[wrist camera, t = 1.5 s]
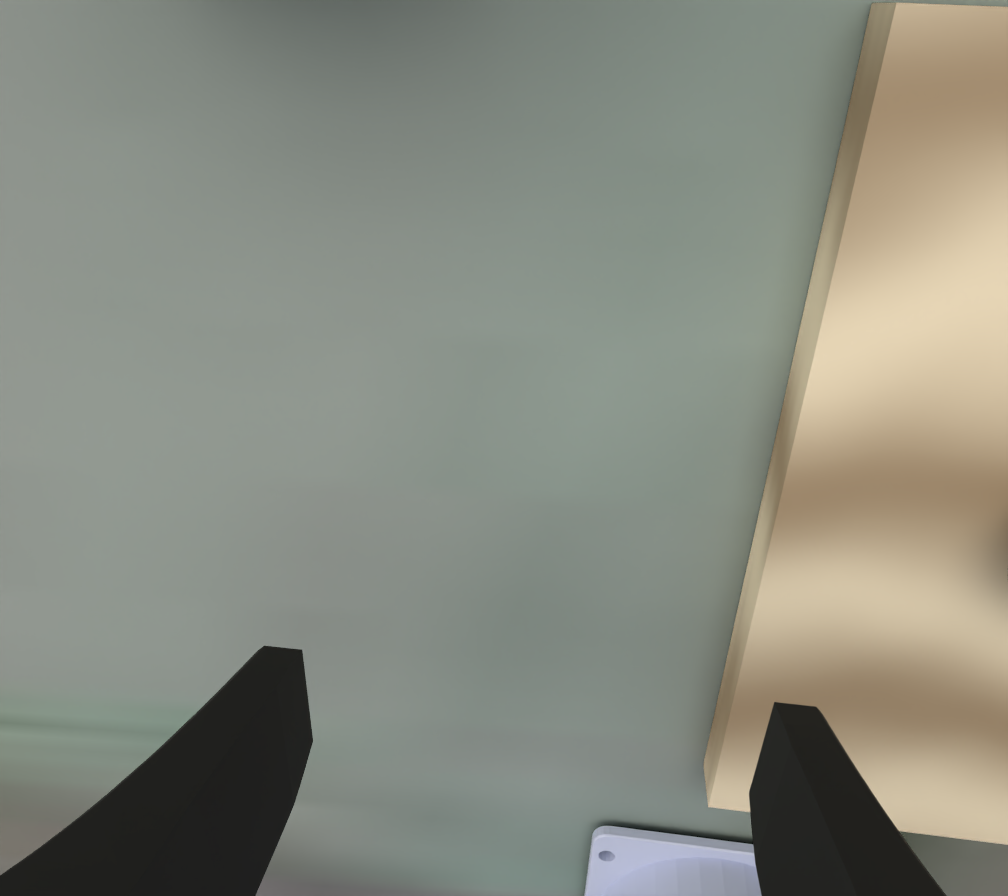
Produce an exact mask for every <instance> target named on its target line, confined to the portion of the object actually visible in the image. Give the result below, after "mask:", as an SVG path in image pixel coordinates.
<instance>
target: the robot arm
mask: <svg viewBox="0 0 1008 896" xmlns="http://www.w3.org/2000/svg"><path fill="white" fill-rule="evenodd" d="M312 743H313V738H312V729H311V721H310V712H309V704H308V696H307V687H306V679H305V670H304V662H303V654H302V650H298V649H289V648H280V647H271V646H263V647H262V648H261V649H260V650H258V651H257V652H256V653H255V654H254V655H253V656H252V657H251V658H250V659H249V660H248V661H247V662H246V663H245V664H244V665H243V667H242V668H241V669H240V670H239V671H238V672H237V673H236V674H235V675H234V676H233V677H232V678H231V679H230V680H229V681H228V682H227V683H226V684H225V685H224V686H223V687H222V688H221V689H220V690H219V691H218V692H217V693H216V694H215V695H214V696H213V697H212V698H211V699H210V700H209V701H208V702H207V703H206V704H205V705H204V706H203V707H202V708H201V709H200V710H199V711H198V712H197V713H196V714H195V715H194V716H193V717H192V718H191V719H190V720H188V721H187V722H186V723H185V724H184V725H183V726H182V727H181V728H180V729H179V730H178V731H177V732H176V733H175V734H174V735H173V736H172V737H171V738H170V739H168V740H167V741H166V742H165V743H164V744H163V745H162V746H161V747H160V748H159V749H158V750H157V751H156V752H155V753H154V754H152V755H151V756H150V757H149V758H148V759H147V760H146V761H145V762H143V763H142V764H141V765H140V766H139V767H138V768H137V769H135V770H134V771H133V772H132V773H131V774H130V775H129V776H127V777H126V778H125V779H124V780H123V781H122V782H121V783H119V784H118V785H117V786H116V787H115V788H114V789H112V790H111V791H110V792H109V793H108V794H107V795H106V796H104V797H103V798H102V799H101V800H100V801H98V802H97V803H96V804H95V805H93V806H92V807H91V808H90V809H89V810H87V811H86V812H85V813H84V814H82V815H81V816H80V817H79V818H77V819H76V820H75V821H74V822H72V823H71V824H70V825H69V826H67V827H66V828H65V829H63V830H62V831H61V832H59V833H58V834H57V835H55V836H54V837H53V838H52V839H50V840H49V841H48V842H46V843H45V844H44V845H42V846H41V847H40V848H38V849H37V850H36V851H34V852H33V853H31V854H30V855H29V856H27V857H26V858H24V859H23V860H22V861H20V862H19V863H17V864H16V865H14V866H13V867H12V868H10V869H9V870H7V871H6V872H5V873H3V874H2V875H0V896H255V895H256V893H257V890H258V888H259V886H260V883H261V881H262V879H263V876H264V874H265V872H266V869H267V867H268V865H269V863H270V860H271V858H272V856H273V853H274V851H275V849H276V846H277V844H278V841H279V839H280V837H281V834H282V832H283V830H284V827H285V825H286V823H287V820H288V818H289V815H290V813H291V811H292V808H293V806H294V803H295V800H296V796H297V793H298V790H299V787H300V784H301V780H302V777H303V774H304V770H305V767H306V763H307V760H308V756H309V753H310V749H311V746H312ZM749 801H750V813H751V825H752V836H753V844H748V843H740V842H732V841H724V840H717V839H709V838H701V837H694V836H686V835H678V834H670V833H663V832H655V831H647V830H639V829H632V828H624V827H616V826H601V827H598V828H597V829H596V830H594V832H593V834H592V842H591V849H590V857H589V864H588V872H587V879H586V886H585V894H584V896H946V894H945V893H944V892H943V891H942V889H941V888H940V887H939V885H938V884H937V883H936V881H935V880H934V879H933V878H932V876H931V875H930V874H929V872H928V871H927V869H926V868H925V867H924V865H923V864H922V863H921V861H920V860H919V859H918V857H917V856H916V855H915V853H914V852H913V850H912V849H911V848H910V846H909V845H908V843H907V842H906V840H905V839H904V838H903V836H902V835H901V833H900V832H899V831H898V829H897V828H896V826H895V825H894V823H893V822H892V821H891V819H890V818H889V816H888V815H887V813H886V812H885V811H884V809H883V808H882V806H881V805H880V803H879V802H878V800H877V799H876V797H875V796H874V794H873V793H872V791H871V790H870V788H869V787H868V785H867V784H866V782H865V781H864V779H863V778H862V776H861V774H860V773H859V771H858V770H857V768H856V767H855V765H854V764H853V762H852V760H851V759H850V757H849V756H848V754H847V753H846V751H845V749H844V748H843V746H842V745H841V743H840V741H839V740H838V738H837V737H836V735H835V733H834V732H833V730H832V729H831V727H830V725H829V724H828V722H827V720H826V719H825V717H824V716H823V714H822V713H821V711H820V710H819V709H818V708H817V707H815V706H806V705H797V704H788V703H779V702H774V705H773V708H772V712H771V715H770V719H769V723H768V726H767V730H766V733H765V737H764V741H763V744H762V748H761V751H760V755H759V759H758V762H757V766H756V769H755V773H754V776H753V780H752V784H751V787H750V791H749Z"/></svg>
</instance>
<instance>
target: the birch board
mask: <svg viewBox="0 0 1008 896" xmlns="http://www.w3.org/2000/svg"><path fill="white" fill-rule="evenodd" d="M1007 568H1008V7H995V6H969V5H943V4H917V3H872V4H871V9H870V13H869V18H868V22H867V27H866V31H865V36H864V40H863V45H862V50H861V54H860V59H859V63H858V68H857V72H856V77H855V81H854V86H853V90H852V95H851V99H850V104H849V108H848V113H847V117H846V122H845V126H844V131H843V135H842V140H841V144H840V149H839V153H838V158H837V163H836V167H835V172H834V176H833V181H832V185H831V190H830V194H829V199H828V203H827V208H826V212H825V217H824V221H823V226H822V230H821V235H820V239H819V244H818V248H817V253H816V257H815V262H814V266H813V271H812V275H811V280H810V285H809V289H808V294H807V298H806V303H805V307H804V312H803V316H802V321H801V325H800V330H799V334H798V339H797V343H796V348H795V352H794V357H793V361H792V366H791V370H790V375H789V379H788V384H787V388H786V393H785V397H784V402H783V407H782V411H781V416H780V420H779V425H778V429H777V434H776V438H775V443H774V447H773V452H772V456H771V461H770V465H769V470H768V474H767V479H766V483H765V488H764V492H763V497H762V501H761V506H760V510H759V515H758V520H757V524H756V529H755V533H754V538H753V542H752V547H751V551H750V556H749V560H748V565H747V569H746V574H745V578H744V583H743V587H742V592H741V596H740V601H739V605H738V610H737V614H736V619H735V623H734V628H733V632H732V637H731V642H730V646H729V651H728V655H727V660H726V664H725V669H724V673H723V678H722V682H721V687H720V691H719V696H718V700H717V705H716V709H715V714H714V718H713V723H712V727H711V732H710V736H709V741H708V745H707V750H706V754H705V759H704V764H703V765H704V774H705V782H706V791H707V800H708V807H713V808H720V809H728V810H736V811H744V812H750V801H749V791H750V787H751V784H752V780H753V776H754V773H755V769H756V766H757V762H758V759H759V755H760V751H761V748H762V744H763V741H764V737H765V733H766V730H767V726H768V723H769V719H770V715H771V712H772V708H773V705H774V702H779V703H788V704H797V705H806V706H815V707H817V708H818V709H819V710H820V711H821V713H822V714H823V716H824V717H825V719H826V720H827V722H828V724H829V725H830V727H831V729H832V730H833V732H834V733H835V735H836V737H837V738H838V740H839V741H840V743H841V745H842V746H843V748H844V749H845V751H846V753H847V754H848V756H849V757H850V759H851V760H852V762H853V764H854V765H855V767H856V768H857V770H858V771H859V773H860V774H861V776H862V778H863V779H864V781H865V782H866V784H867V785H868V787H869V788H870V790H871V791H872V793H873V794H874V796H875V797H876V799H877V800H878V802H879V803H880V805H881V806H882V808H883V809H884V811H885V812H886V813H887V815H888V816H889V818H890V819H891V821H892V822H893V823H894V825H895V826H896V828H897V829H898V831H903V832H911V833H919V834H927V835H935V836H943V837H951V838H959V839H967V840H975V841H982V842H990V843H998V844H1006V845H1008V576H1007Z"/></svg>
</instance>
